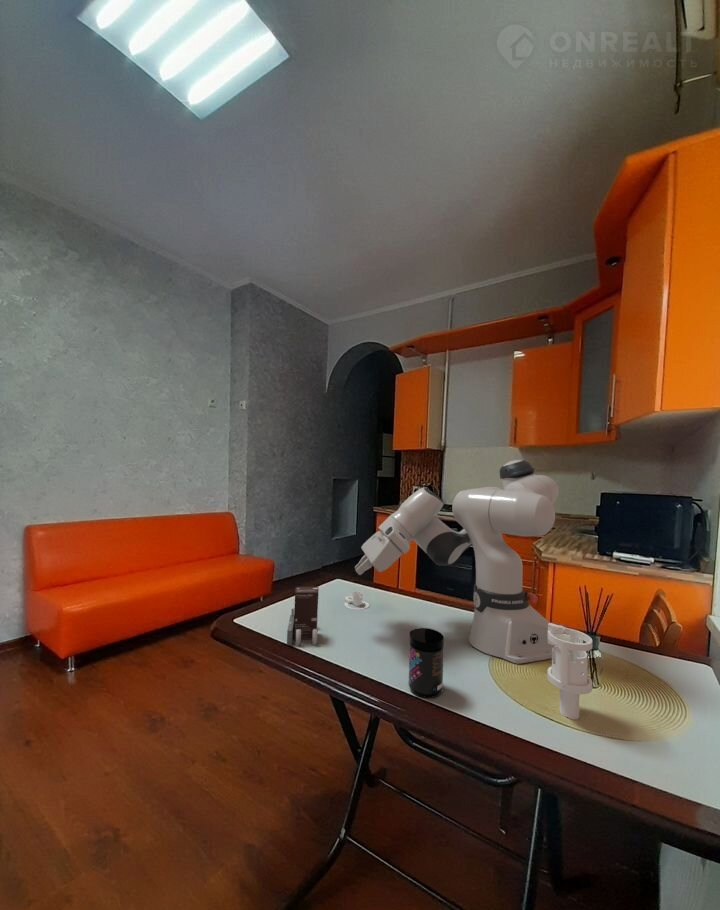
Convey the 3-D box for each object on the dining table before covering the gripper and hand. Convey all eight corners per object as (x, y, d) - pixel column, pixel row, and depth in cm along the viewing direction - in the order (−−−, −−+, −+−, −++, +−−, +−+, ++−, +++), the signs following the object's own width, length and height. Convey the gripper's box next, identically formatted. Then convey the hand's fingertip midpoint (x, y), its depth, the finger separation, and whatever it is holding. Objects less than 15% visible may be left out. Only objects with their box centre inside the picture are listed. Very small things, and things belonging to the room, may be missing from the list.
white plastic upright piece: (553, 696, 70) (554, 617, 71) (596, 714, 65) (596, 629, 66) (541, 713, 65) (542, 628, 66) (587, 733, 60) (587, 641, 61)
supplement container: (415, 675, 76) (416, 625, 76) (447, 686, 72) (448, 633, 73) (402, 691, 70) (404, 637, 70) (436, 704, 67) (437, 646, 67)
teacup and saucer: (342, 601, 119) (342, 588, 119) (365, 600, 120) (366, 588, 120) (346, 611, 110) (346, 598, 110) (371, 610, 112) (371, 597, 112)
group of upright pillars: (317, 627, 98) (317, 607, 98) (317, 645, 87) (317, 623, 88) (290, 627, 97) (290, 607, 97) (286, 646, 87) (287, 623, 87)
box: (292, 641, 89) (294, 591, 90) (293, 632, 94) (295, 586, 94) (317, 640, 90) (318, 591, 91) (317, 632, 95) (318, 585, 95)
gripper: (378, 521, 108) (345, 554, 106) (394, 532, 87) (353, 573, 86) (393, 536, 108) (359, 569, 106) (411, 551, 88) (371, 592, 86)
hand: (356, 571), depth 96 cm, fingers closed
